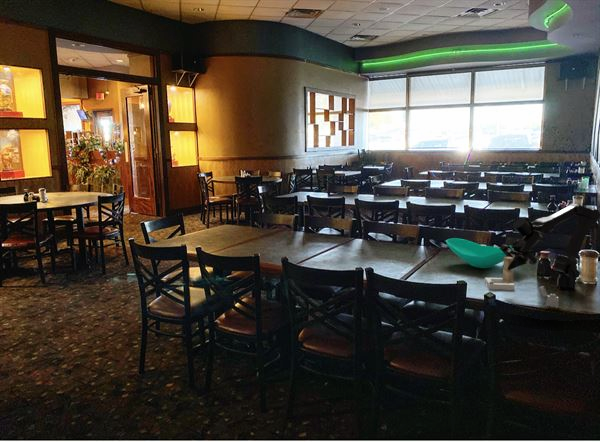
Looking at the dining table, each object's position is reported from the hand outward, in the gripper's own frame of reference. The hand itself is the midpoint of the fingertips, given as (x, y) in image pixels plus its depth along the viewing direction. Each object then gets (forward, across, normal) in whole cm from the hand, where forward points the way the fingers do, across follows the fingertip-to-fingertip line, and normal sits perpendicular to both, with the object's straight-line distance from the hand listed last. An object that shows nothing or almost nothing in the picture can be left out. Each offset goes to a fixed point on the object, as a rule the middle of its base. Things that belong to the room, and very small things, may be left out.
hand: (505, 268), depth 208 cm
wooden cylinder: (+4, 0, +6) cm, 7 cm away
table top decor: (-4, -45, +22) cm, 50 cm away
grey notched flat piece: (+3, +17, +15) cm, 23 cm away
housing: (+4, -12, +13) cm, 18 cm away
